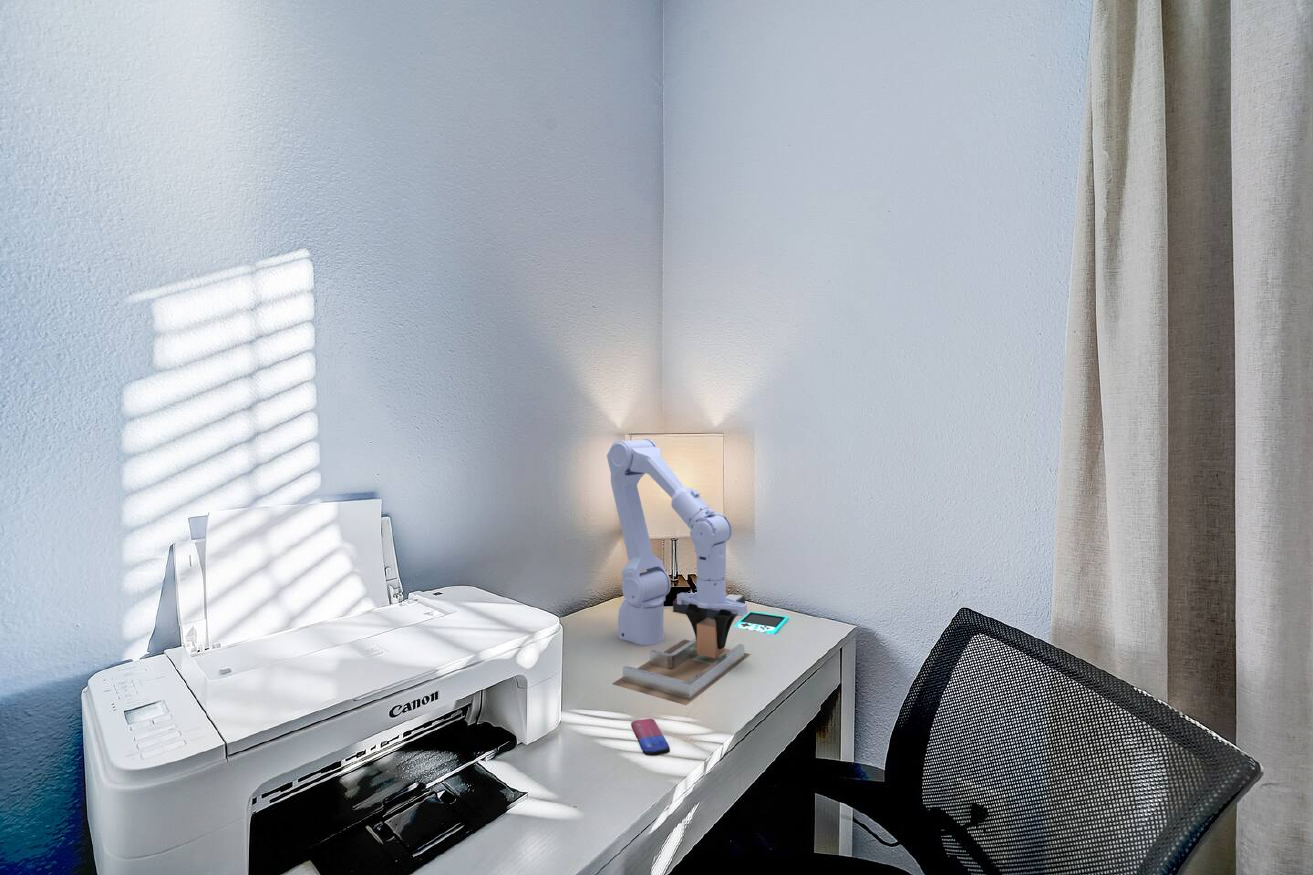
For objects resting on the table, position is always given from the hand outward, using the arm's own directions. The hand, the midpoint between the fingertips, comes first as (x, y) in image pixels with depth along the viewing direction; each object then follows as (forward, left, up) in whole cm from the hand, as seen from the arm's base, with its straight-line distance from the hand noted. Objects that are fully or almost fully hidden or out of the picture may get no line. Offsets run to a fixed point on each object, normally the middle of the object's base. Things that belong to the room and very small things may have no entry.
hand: (710, 645), depth 126 cm
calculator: (-16, +29, -4) cm, 34 cm away
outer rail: (-2, -6, -3) cm, 7 cm away
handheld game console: (-1, +26, -5) cm, 26 cm away
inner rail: (-6, -2, -3) cm, 7 cm away
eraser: (+6, -31, -4) cm, 32 cm away
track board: (-2, -6, -4) cm, 8 cm away
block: (0, 0, -2) cm, 2 cm away
